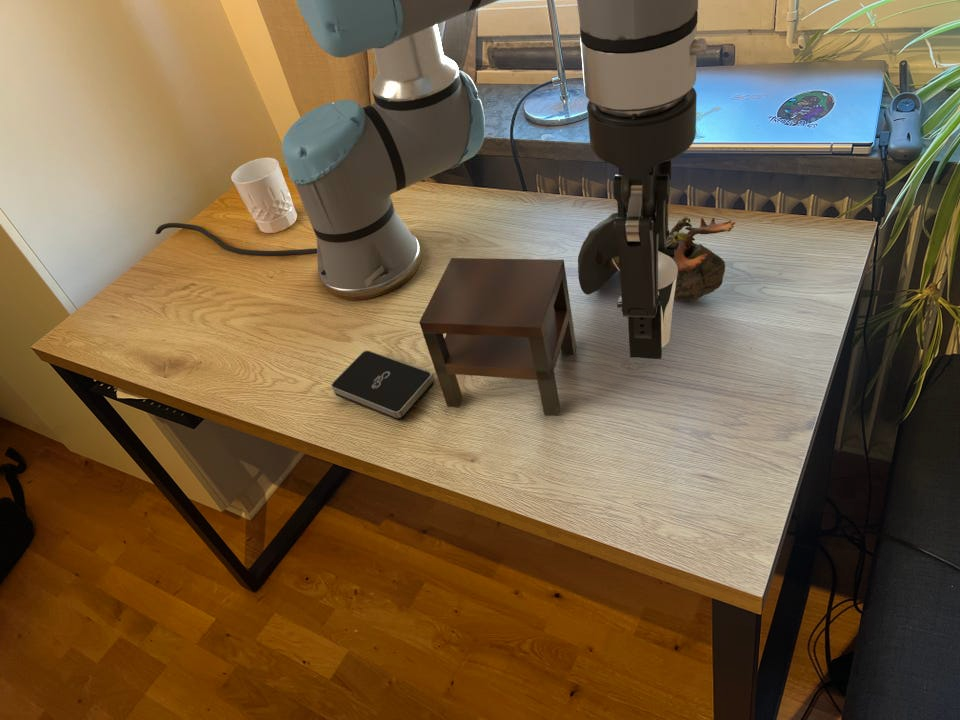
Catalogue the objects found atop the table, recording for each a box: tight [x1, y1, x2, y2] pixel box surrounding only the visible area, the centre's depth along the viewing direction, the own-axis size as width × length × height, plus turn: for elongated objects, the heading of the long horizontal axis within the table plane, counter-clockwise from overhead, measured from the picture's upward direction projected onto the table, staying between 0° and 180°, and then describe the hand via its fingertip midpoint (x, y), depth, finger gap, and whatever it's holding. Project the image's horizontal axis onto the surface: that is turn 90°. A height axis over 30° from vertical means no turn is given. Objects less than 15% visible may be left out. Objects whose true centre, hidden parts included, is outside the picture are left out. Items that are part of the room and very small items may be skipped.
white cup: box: [230, 157, 298, 234], centre depth 118 cm, size 8×8×10 cm
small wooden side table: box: [418, 257, 577, 417], centre depth 79 cm, size 13×11×13 cm
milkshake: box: [612, 251, 678, 349], centre depth 62 cm, size 5×5×10 cm
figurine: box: [577, 212, 736, 302], centre depth 87 cm, size 14×10×18 cm
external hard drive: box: [330, 349, 435, 422], centre depth 85 cm, size 7×11×2 cm, turn 56°
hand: (649, 336), depth 66 cm, fingers closed on milkshake, 4 cm apart
